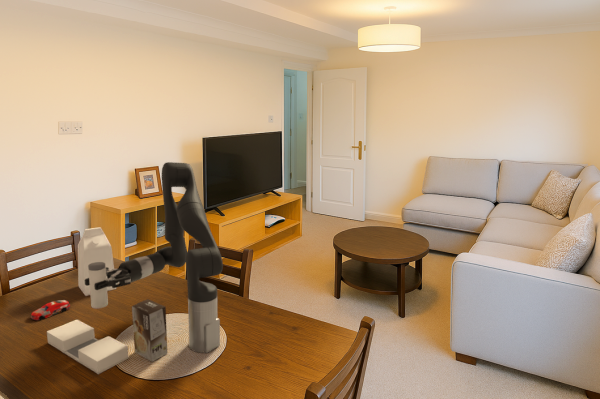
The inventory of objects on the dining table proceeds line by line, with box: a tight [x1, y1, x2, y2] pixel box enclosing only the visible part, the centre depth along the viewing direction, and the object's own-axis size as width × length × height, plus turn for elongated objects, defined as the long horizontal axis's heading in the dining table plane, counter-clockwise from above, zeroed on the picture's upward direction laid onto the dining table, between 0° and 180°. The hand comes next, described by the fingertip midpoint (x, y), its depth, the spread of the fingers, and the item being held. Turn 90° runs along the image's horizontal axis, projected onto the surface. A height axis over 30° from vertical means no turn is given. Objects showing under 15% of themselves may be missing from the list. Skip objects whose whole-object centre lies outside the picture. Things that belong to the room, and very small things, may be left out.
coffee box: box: [131, 298, 168, 362], centre depth 134 cm, size 9×6×16 cm
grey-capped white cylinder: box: [88, 262, 109, 309], centre depth 139 cm, size 5×5×14 cm
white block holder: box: [46, 319, 129, 375], centre depth 135 cm, size 28×10×4 cm, turn 57°
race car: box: [30, 299, 71, 321], centre depth 158 cm, size 13×5×4 cm, turn 144°
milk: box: [77, 226, 117, 297], centre depth 178 cm, size 12×12×26 cm
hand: (90, 284), depth 137 cm, fingers closed on grey-capped white cylinder, 5 cm apart
